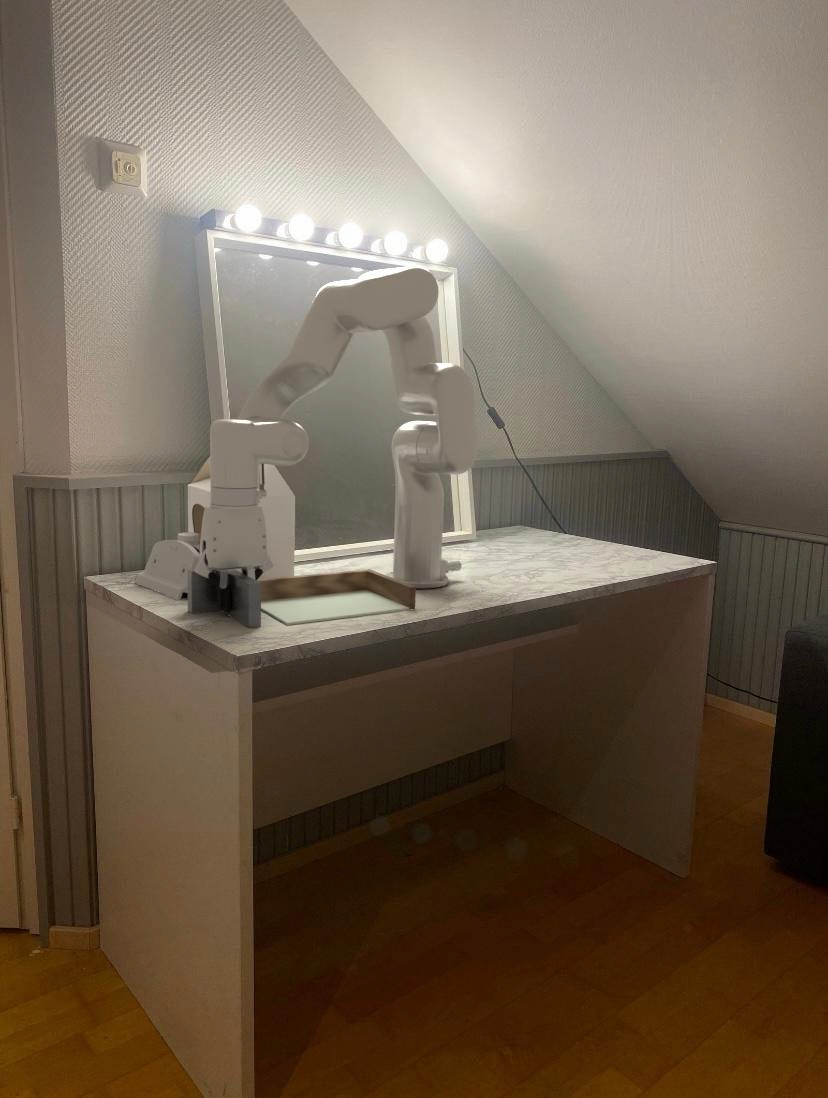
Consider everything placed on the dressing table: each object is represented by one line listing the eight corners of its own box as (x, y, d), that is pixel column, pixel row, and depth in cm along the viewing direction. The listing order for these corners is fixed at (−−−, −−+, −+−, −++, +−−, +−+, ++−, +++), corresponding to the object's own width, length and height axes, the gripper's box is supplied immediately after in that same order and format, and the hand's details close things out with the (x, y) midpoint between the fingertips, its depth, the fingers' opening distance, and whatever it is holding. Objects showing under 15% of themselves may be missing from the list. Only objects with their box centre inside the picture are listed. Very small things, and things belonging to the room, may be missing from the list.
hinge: (133, 582, 157) (149, 531, 158) (155, 588, 160) (171, 538, 161) (178, 600, 145) (195, 544, 146) (201, 605, 149) (218, 551, 149)
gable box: (187, 570, 170) (186, 431, 165) (248, 564, 178) (249, 431, 173) (229, 592, 152) (228, 437, 147) (295, 586, 159) (296, 438, 155)
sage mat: (366, 592, 156) (366, 589, 156) (409, 610, 144) (409, 607, 144) (251, 604, 144) (251, 602, 144) (287, 625, 132) (287, 622, 132)
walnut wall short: (372, 591, 157) (372, 570, 156) (415, 609, 145) (415, 586, 144) (366, 592, 156) (367, 571, 156) (409, 610, 144) (410, 587, 144)
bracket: (228, 606, 142) (228, 566, 141) (260, 626, 131) (261, 582, 129) (187, 611, 138) (187, 569, 137) (217, 632, 127) (217, 586, 126)
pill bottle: (191, 575, 165) (190, 530, 164) (209, 579, 162) (208, 534, 161) (169, 579, 161) (168, 533, 160) (187, 583, 158) (186, 537, 157)
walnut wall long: (368, 590, 158) (369, 569, 157) (372, 591, 157) (372, 570, 156) (248, 602, 145) (248, 580, 144) (251, 604, 144) (251, 581, 143)
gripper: (272, 493, 141) (271, 599, 144) (176, 496, 132) (178, 609, 136) (291, 498, 135) (290, 609, 138) (192, 502, 126) (193, 620, 129)
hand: (234, 608), depth 137 cm, fingers open, 2 cm apart
